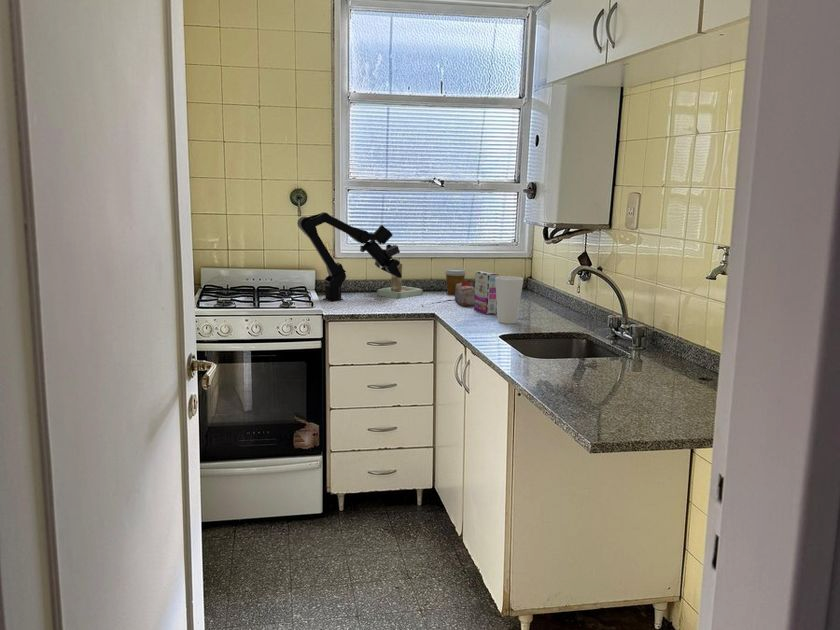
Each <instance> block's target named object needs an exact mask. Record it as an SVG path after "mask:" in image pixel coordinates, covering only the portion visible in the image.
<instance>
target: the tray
mask: <svg viewBox="0 0 840 630" xmlns="http://www.w3.org/2000/svg"><path fill="white" fill-rule="evenodd" d="M402 289H403V290H409V291H404V292H394V291H389V290H391V286H390V287H383V288H379V289H378V288H377V290H376V291H377V292H376V295H377V296H381V297H387V298H393V299H405V298H411V297H418V296H422V295H423V291H424V290H423V289H422V288H418V287H411V286H405V285H404V286H403V285H402Z"/></svg>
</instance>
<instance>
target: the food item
mask: <svg viewBox="0 0 840 630" xmlns="http://www.w3.org/2000/svg"><path fill="white" fill-rule="evenodd" d="M474 296H475V286H473V284H472V282H468V281H464V282H463V283H461V282H460V283H458V284H456V287H455V295H454V302H456V303H457V305H461V306H462V307H474Z"/></svg>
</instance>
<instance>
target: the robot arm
mask: <svg viewBox="0 0 840 630" xmlns="http://www.w3.org/2000/svg"><path fill="white" fill-rule="evenodd" d="M325 223H326V224H327V225H329V226H332V227H333V228H336V229H337V230H339V231H341V232H343V233H345V234H346V235H348V236H349V237H350V238H351V239H352V240H353V241H355V242H356V243H359V244H363V245H360V250H359V251H360V252H361V253H364V252H367V254H369V256H370V257H371V259H372V260H374V261H375V262H374V265H375V267H376V268H378V269H380V270H382V271H384V272H386V273H388V274H390V275H391V274H393V275H395V276H397V277H399V278H401V277H402V278H403V275H402V276H401V274H400V272H399V270H398V268H397V266H398V265H399V264H400V263H401V262H400V261H399V260H398V259H396V258H393V256H395V255H397V254H400V253H401V251H400V249H399V246H398V245H396V244H393V245H392V244H390V243H388V241H389V240H390V239H391V238H392V237H393V233H392V232H391V231H390V230H388V228H387V227H385V226H384V225H382V224H380V225H379V226H378V228H377V229H376V230H375V231H374V232H368V231H367V230H365V229H361V228H359V227H355V226H352V225H350V224H348V223H346V222H344V221H342V220H340V219H339V218H337V217H334V216H333V215H330V214H329V213H328V212H321V213H317V214H313V215H310V216H301V217H299V218H298V219H297V227H298V228H299V229H300V230H301V232H302V233H303V234H304V235H306V237H307V238H308V239H309V240H310V242H311V244H312V245H313V247H314V248H315V250H316V252H317V254H318V255H319V256H320V258H321V260H322V262H323V263H324V265H325V267H326V271H327V273H328V276H327V277H325V279H324V281H323V282H324V285H325V286H324V287H325V289H324V290H325V297H324V298H322V300H324V301H329V302H337V301H339V302H340V301H343V300H344V298H342V288H341V287H342V285H343V283H344V282H345V281H346V278H347V274H346V272H347V271H346V270H345V269H344V266H343V265H342V264H341V263H339V262H335V260H334V258H333V257H332V254H331V253H330V252H329V250H328V248H327V247H326V245H325V244H324V242H323V240H322V238H321V237H320V235H319V233H318V230H317V229H318V228H317V227H318V226H320V225H323V224H325ZM386 243H388V244H386ZM385 244H386V248H385V249H384V248H382V247H381V245H385Z"/></svg>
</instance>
